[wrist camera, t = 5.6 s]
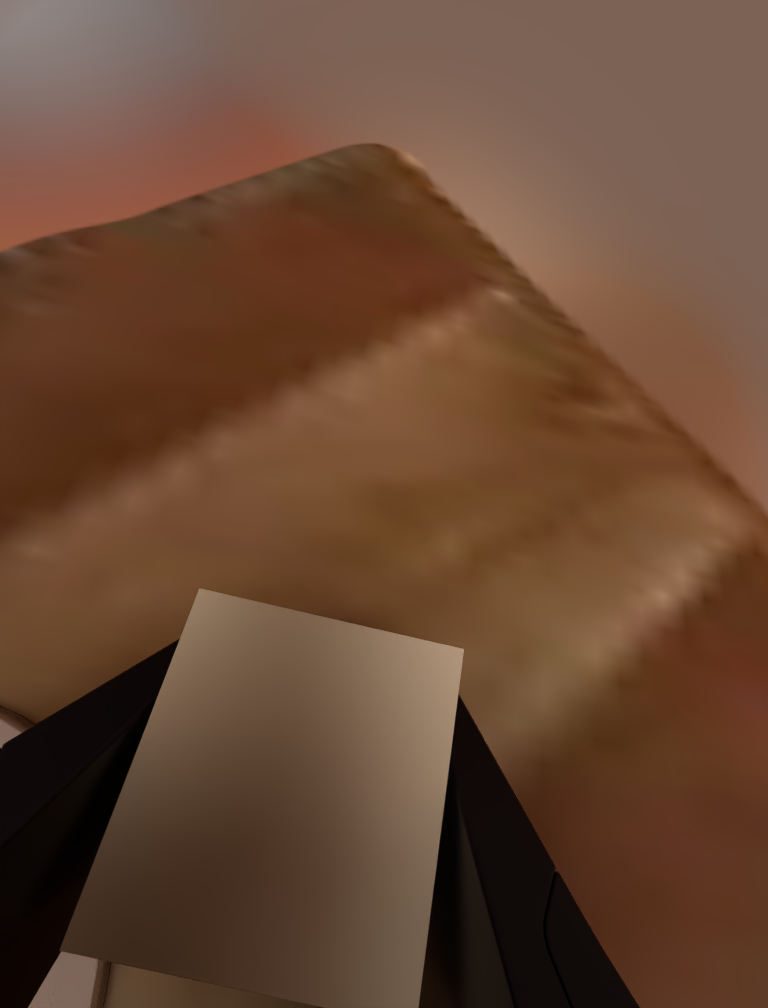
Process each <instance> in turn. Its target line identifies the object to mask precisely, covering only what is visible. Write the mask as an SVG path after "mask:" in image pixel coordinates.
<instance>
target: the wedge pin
mask: <svg viewBox="0 0 768 1008" xmlns="http://www.w3.org/2000/svg"><path fill="white" fill-rule="evenodd" d="M463 653H464V649H461V648H457V647H452V646H448V645H443V644H439V643H435V642H430V641H426V640H422V639H417V638H413V637H409V636H404V635H400V634H396V633H391V632H387V631H383V630H378V629H374V628H370V627H365V626H361V625H357V624H352V623H348V622H344V621H339V620H335V619H331V618H326V617H322V616H318V615H313V614H309V613H305V612H300V611H296V610H292V609H287V608H283V607H279V606H274V605H270V604H265V603H261V602H257V601H252V600H248V599H244V598H239V597H235V596H231V595H226V594H222V593H218V592H213V591H209V590H205V589H200V588H199V591H198V594H197V596H196V599H195V601H194V604H193V607H192V609H191V612H190V614H189V617H188V619H187V622H186V625H185V627H184V630H183V632H182V635H181V638H180V640H179V643H178V645H177V648H176V650H175V653H174V656H173V658H172V661H171V663H170V666H169V669H168V671H167V674H166V676H165V679H164V681H163V684H162V687H161V689H160V692H159V694H158V697H157V700H156V702H155V705H154V707H153V710H152V712H151V715H150V718H149V720H148V723H147V725H146V728H145V731H144V733H143V736H142V738H141V741H140V743H139V746H138V749H137V751H136V754H135V756H134V759H133V762H132V764H131V767H130V769H129V772H128V774H127V777H126V780H125V782H124V785H123V787H122V790H121V793H120V795H119V798H118V800H117V803H116V805H115V808H114V811H113V813H112V816H111V818H110V821H109V824H108V826H107V829H106V831H105V834H104V836H103V839H102V842H101V844H100V847H99V849H98V852H97V855H96V857H95V860H94V862H93V865H92V867H91V870H90V873H89V875H88V878H87V880H86V883H85V886H84V888H83V891H82V893H81V896H80V898H79V901H78V904H77V906H76V909H75V911H74V914H73V917H72V919H71V922H70V924H69V927H68V929H67V932H66V935H65V937H64V940H63V942H62V945H61V948H60V950H59V951H62V952H66V953H71V954H76V955H80V956H85V957H90V958H94V959H99V960H104V961H108V962H113V963H118V964H122V965H127V966H132V967H136V968H141V969H146V970H150V971H155V972H160V973H164V974H169V975H174V976H178V977H183V978H188V979H192V980H197V981H202V982H206V983H211V984H216V985H220V986H225V987H230V988H234V989H239V990H243V991H248V992H253V993H257V994H262V995H267V996H271V997H276V998H281V999H285V1000H290V1001H295V1002H299V1003H304V1004H309V1005H313V1006H318V1007H323V1008H418V1007H419V1000H420V992H421V984H422V976H423V968H424V960H425V952H426V945H427V937H428V929H429V921H430V913H431V905H432V897H433V889H434V882H435V874H436V866H437V858H438V850H439V842H440V834H441V826H442V819H443V811H444V803H445V795H446V787H447V779H448V771H449V763H450V756H451V748H452V740H453V732H454V724H455V716H456V708H457V700H458V693H459V685H460V677H461V669H462V661H463Z"/></svg>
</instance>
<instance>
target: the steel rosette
mask: <svg viewBox="0 0 768 1008" xmlns="http://www.w3.org/2000/svg"><path fill="white" fill-rule="evenodd" d="M32 726H34V724H33V723H31V722H30V721H28V720H27V719H25V718H24V717H22V716H20V715H19V714H17V713H14V712H12V711H10V710H7V709H5V708H3V707H0V748H2V746H3V744H4V743H6V742H7V741H9V740H11V739H12V738H14V737H16V736H17V735H19V734H21V733H22V732H24V731H26V730H27V729H29V728H31V727H32ZM110 963H111V962H108V961H104V960H99V959H94V958H90V957H85V956H80V955H76V954H71V953H66V952H62V951H61V953H60V955H59V956H58V958H57V960H56V961H55V963H54V965H53V966H52V968H51V970H50V972H49V973H48V975H47V977H46V978H45V980H44V982H43V983H42V985H41V987H40V988H39V990H38V992H37V993H36V995H35V997H34V999H33V1000H32V1002H31V1004H30V1005H29V1007H28V1008H102V1007H103V1003H104V999H105V995H106V989H107V982H108V976H109V969H110Z"/></svg>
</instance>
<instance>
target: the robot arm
mask: <svg viewBox="0 0 768 1008" xmlns="http://www.w3.org/2000/svg"><path fill="white" fill-rule="evenodd" d="M179 640H180V639H178V640H177V641H175V642H173V643H172V644H170V645H168V646H167V647H165V648H163V649H161V650H160V651H158V652H156V653H155V654H153V655H151V656H150V657H148V658H146V659H145V660H143V661H141V662H140V663H138V664H136V665H135V666H133V667H131V668H130V669H128V670H126V671H125V672H123V673H121V674H120V675H118V676H116V677H115V678H113V679H111V680H110V681H108V682H106V683H105V684H103V685H101V686H99V687H98V688H96V689H94V690H93V691H91V692H89V693H88V694H86V695H84V696H83V697H81V698H79V699H78V700H76V701H74V702H73V703H71V704H69V705H68V706H66V707H64V708H63V709H61V710H59V711H58V712H56V713H54V714H53V715H51V716H49V717H48V718H46V719H44V720H43V721H41V722H39V723H38V724H36V725H34V726H32V727H31V728H29V729H27V730H26V731H24V732H22V733H21V734H19V735H17V736H16V737H14V738H12V739H11V740H9V741H7V742H6V743H4V744H3V746H2V748H0V1008H28V1007H29V1005H30V1004H31V1002H32V1000H33V999H34V997H35V995H36V993H37V992H38V990H39V988H40V987H41V985H42V983H43V982H44V980H45V978H46V977H47V975H48V973H49V972H50V970H51V968H52V966H53V965H54V963H55V961H56V960H57V958H58V956H59V955H60V953H61V951H59V950H60V948H61V945H62V942H63V940H64V937H65V935H66V932H67V929H68V927H69V924H70V922H71V919H72V917H73V914H74V911H75V909H76V906H77V904H78V901H79V898H80V896H81V893H82V891H83V888H84V886H85V883H86V880H87V878H88V875H89V873H90V870H91V867H92V865H93V862H94V860H95V857H96V855H97V852H98V849H99V847H100V844H101V842H102V839H103V836H104V834H105V831H106V829H107V826H108V824H109V821H110V818H111V816H112V813H113V811H114V808H115V805H116V803H117V800H118V798H119V795H120V793H121V790H122V787H123V785H124V782H125V780H126V777H127V774H128V772H129V769H130V767H131V764H132V762H133V759H134V756H135V754H136V751H137V749H138V746H139V743H140V741H141V738H142V736H143V733H144V731H145V728H146V725H147V723H148V720H149V718H150V715H151V712H152V710H153V707H154V705H155V702H156V700H157V697H158V694H159V692H160V689H161V687H162V684H163V681H164V679H165V676H166V674H167V671H168V669H169V666H170V663H171V661H172V658H173V656H174V653H175V650H176V648H177V645H178V643H179ZM419 1008H640V1007H639V1006H638V1004H637V1003H636V1001H635V999H634V998H633V996H632V995H631V993H630V991H629V990H628V988H627V987H626V985H625V983H624V982H623V980H622V979H621V977H620V975H619V974H618V972H617V971H616V969H615V967H614V966H613V964H612V963H611V961H610V959H609V958H608V956H607V955H606V953H605V951H604V950H603V948H602V947H601V945H600V943H599V941H598V940H597V938H596V936H595V935H594V933H593V931H592V929H591V928H590V926H589V924H588V923H587V921H586V919H585V917H584V916H583V914H582V912H581V911H580V909H579V907H578V905H577V904H576V902H575V900H574V899H573V897H572V895H571V893H570V891H569V890H568V888H567V886H566V884H565V882H564V881H563V879H562V877H561V875H560V874H559V873H558V872H555V865H554V863H553V861H552V860H551V858H550V856H549V854H548V852H547V851H546V849H545V847H544V845H543V844H542V842H541V840H540V838H539V836H538V835H537V833H536V831H535V829H534V827H533V826H532V824H531V822H530V820H529V819H528V817H527V815H526V813H525V811H524V810H523V808H522V806H521V804H520V803H519V801H518V799H517V797H516V795H515V794H514V792H513V790H512V788H511V786H510V785H509V783H508V781H507V779H506V778H505V776H504V774H503V772H502V770H501V769H500V767H499V765H498V763H497V761H496V760H495V758H494V756H493V754H492V753H491V751H490V749H489V747H488V745H487V744H486V742H485V740H484V738H483V736H482V735H481V733H480V731H479V729H478V728H477V726H476V724H475V722H474V720H473V719H472V717H471V715H470V713H469V711H468V710H467V708H466V706H465V704H464V703H463V701H462V699H461V697H460V695H459V694H458V700H457V708H456V716H455V724H454V732H453V740H452V748H451V756H450V763H449V771H448V779H447V787H446V795H445V803H444V811H443V819H442V826H441V834H440V842H439V850H438V858H437V866H436V874H435V882H434V889H433V897H432V905H431V913H430V921H429V929H428V937H427V945H426V952H425V960H424V968H423V976H422V984H421V992H420V1000H419Z"/></svg>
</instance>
